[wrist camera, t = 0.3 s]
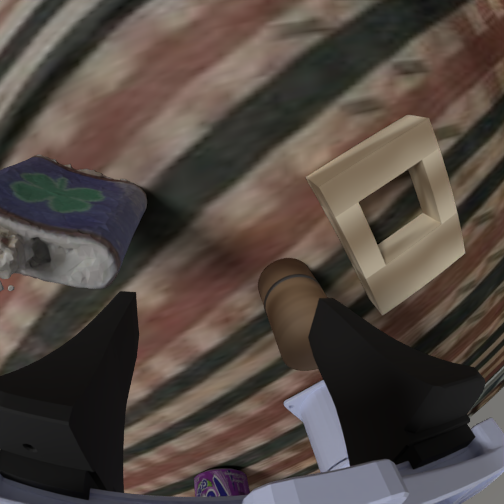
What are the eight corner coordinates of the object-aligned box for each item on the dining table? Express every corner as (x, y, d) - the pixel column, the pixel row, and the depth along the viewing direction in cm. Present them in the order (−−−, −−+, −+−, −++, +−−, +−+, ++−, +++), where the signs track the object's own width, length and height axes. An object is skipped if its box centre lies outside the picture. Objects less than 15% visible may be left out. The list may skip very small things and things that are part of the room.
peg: (320, 286, 24) (358, 346, 18) (275, 314, 25) (300, 380, 19) (295, 246, 22) (333, 303, 16) (246, 278, 23) (266, 344, 17)
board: (447, 240, 25) (465, 252, 23) (368, 298, 26) (382, 315, 24) (407, 114, 19) (428, 118, 17) (305, 177, 20) (319, 187, 18)
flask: (153, 187, 19) (113, 273, 10) (140, 229, 20) (100, 339, 11) (27, 148, 16) (-83, 199, 7) (20, 190, 17) (-79, 264, 8)
